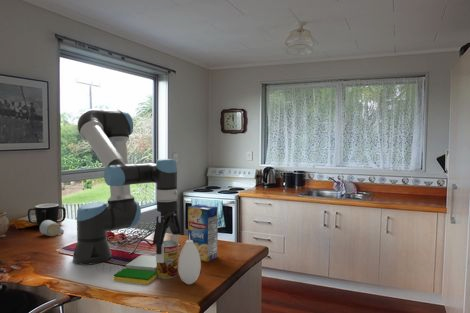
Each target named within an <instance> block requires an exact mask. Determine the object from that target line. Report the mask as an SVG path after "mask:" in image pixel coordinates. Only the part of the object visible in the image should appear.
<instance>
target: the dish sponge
mask: <svg viewBox="0 0 470 313" xmlns="http://www.w3.org/2000/svg"><path fill="white" fill-rule="evenodd" d="M156 273H157V272H154V271H145V270H136V269H126V267H125V268H122V269H121V270H119V271H118V272H116V273H114V274H113V281H117V282H124V283H125V282H126V283H133V284H141V285H142V284H144V285H150V283H152V282H153V281H154V280H156V278H158V277H157V274H156Z"/></svg>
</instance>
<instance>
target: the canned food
mask: <svg viewBox="0 0 470 313" xmlns="http://www.w3.org/2000/svg"><path fill="white" fill-rule="evenodd" d="M163 244H164V263H157V277H156V278H158V279H165V280H166V279H173V278H176V277H177V276H178V274H179V271H178V261H179V241H178V242H176V241H171V239H170V240H169V239H168V240H164V241H163Z"/></svg>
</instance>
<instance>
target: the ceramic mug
mask: <svg viewBox="0 0 470 313" xmlns="http://www.w3.org/2000/svg"><path fill="white" fill-rule="evenodd" d="M39 232H40V233H41V234H43V235H44V236H48V237H56V236H57V235H58V234H64V233H65V230H64V229H61V227H60V224H59V223H58V222H57V223H55V222H53V221H51V220H45V221H43V222H42V223H41V225H40V227H39Z"/></svg>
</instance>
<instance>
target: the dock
mask: <svg viewBox="0 0 470 313" xmlns="http://www.w3.org/2000/svg"><path fill="white" fill-rule="evenodd" d="M125 268H126V269H136V270H145V271H154V272H157V262H156V255H147V254H146V255H144V254H141V255H139V256H137V257H136V258H134V259H133V260H132V261H130V262H128V263H127V264H126V265H125ZM156 274H157V273H156Z"/></svg>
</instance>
